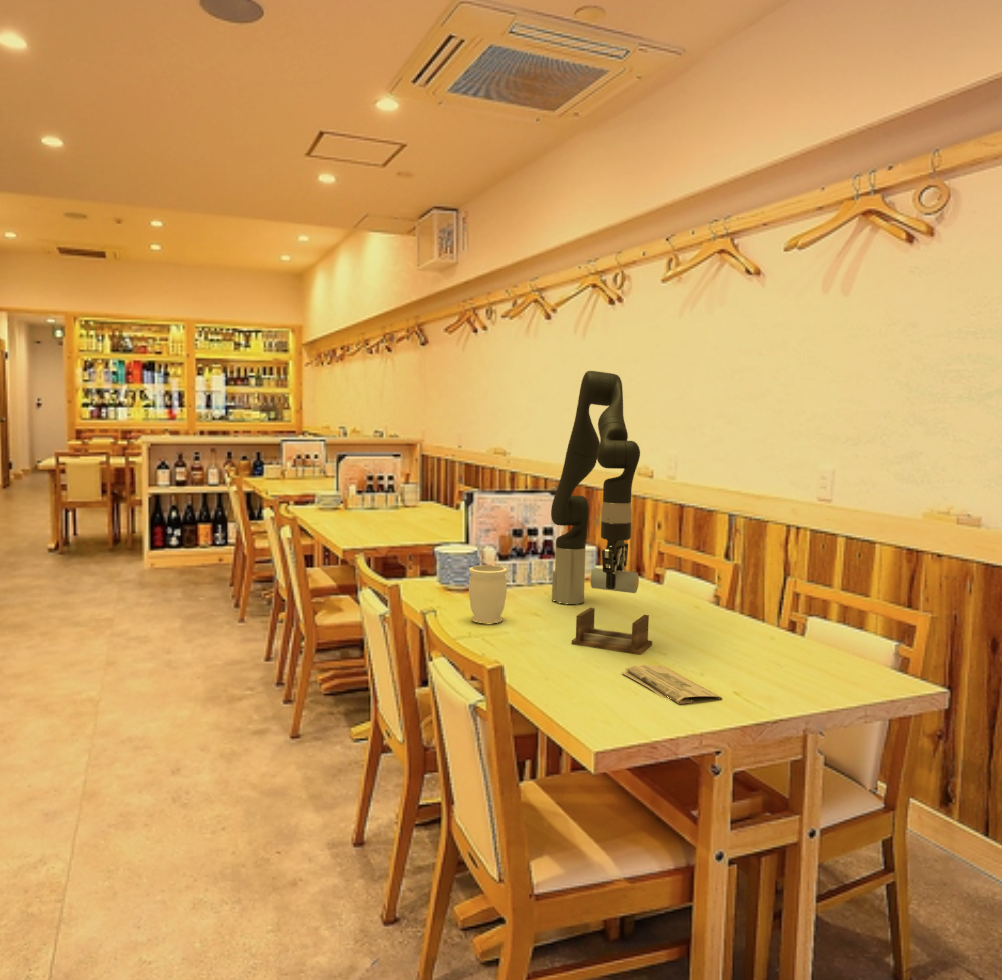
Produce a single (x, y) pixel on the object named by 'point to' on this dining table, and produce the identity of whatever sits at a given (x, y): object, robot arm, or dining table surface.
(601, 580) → the cylinder
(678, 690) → the newspaper
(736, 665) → the dining table surface
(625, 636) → the holder
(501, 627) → the dining table surface
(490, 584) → the jar
